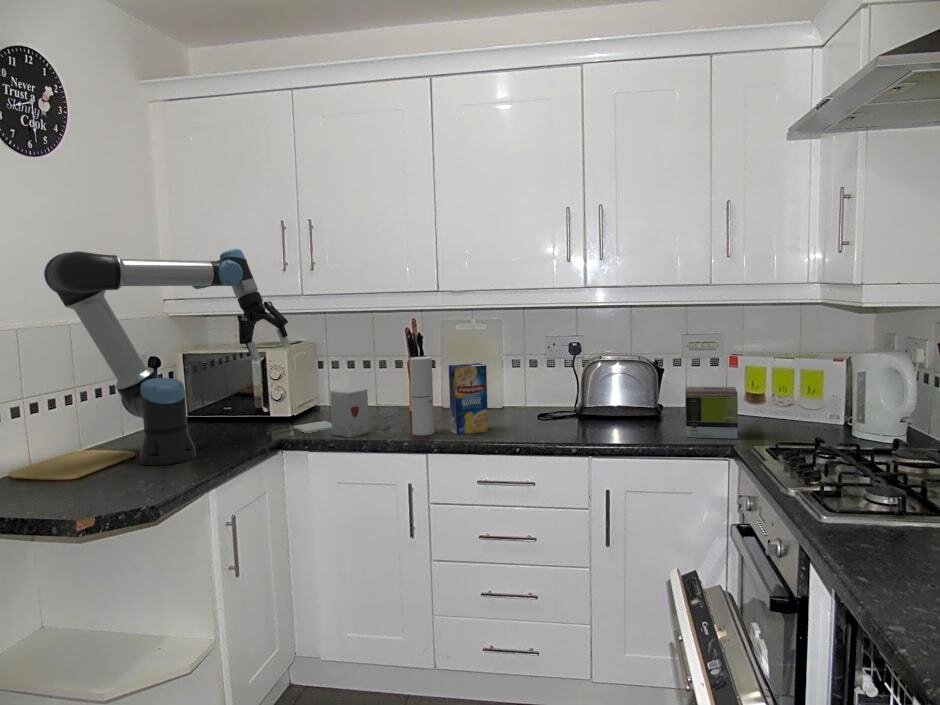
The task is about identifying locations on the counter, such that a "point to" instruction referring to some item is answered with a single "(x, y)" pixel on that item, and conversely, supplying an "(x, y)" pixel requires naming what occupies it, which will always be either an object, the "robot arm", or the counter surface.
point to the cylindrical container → (422, 395)
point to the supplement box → (349, 412)
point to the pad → (314, 427)
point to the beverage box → (468, 398)
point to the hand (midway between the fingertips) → (272, 354)
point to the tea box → (711, 412)
